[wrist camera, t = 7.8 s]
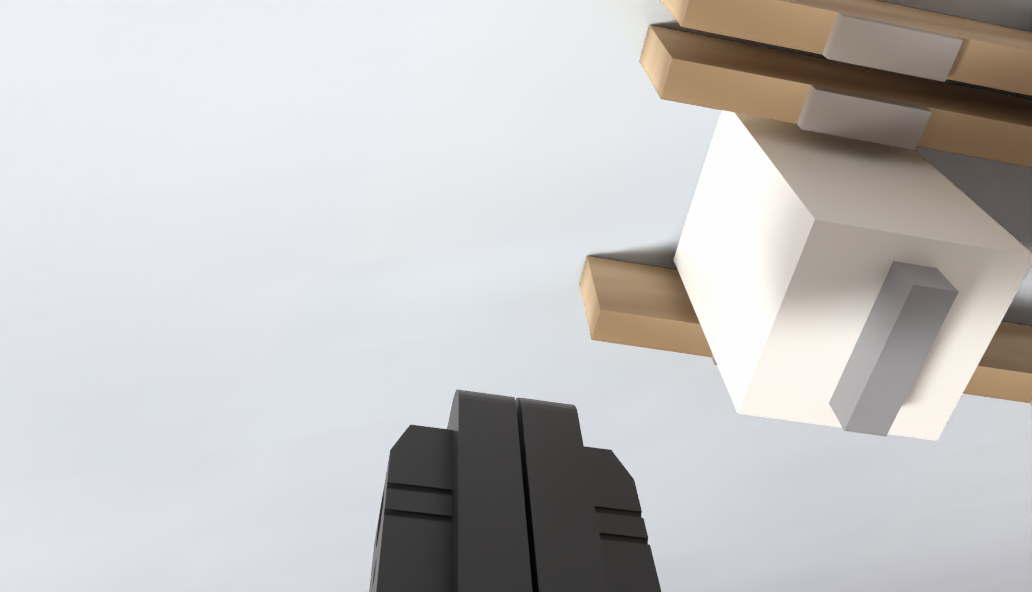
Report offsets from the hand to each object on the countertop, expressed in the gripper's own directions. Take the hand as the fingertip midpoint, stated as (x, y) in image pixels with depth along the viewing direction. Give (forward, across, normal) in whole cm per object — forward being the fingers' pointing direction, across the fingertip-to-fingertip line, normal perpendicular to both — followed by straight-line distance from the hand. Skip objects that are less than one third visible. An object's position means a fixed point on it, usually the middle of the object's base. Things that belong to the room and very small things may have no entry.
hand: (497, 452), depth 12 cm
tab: (+10, -7, 0) cm, 13 cm away
